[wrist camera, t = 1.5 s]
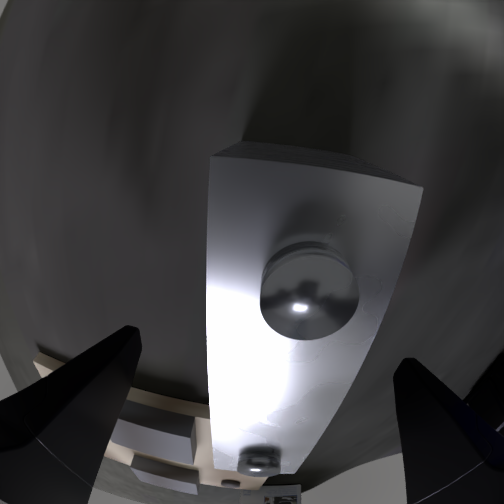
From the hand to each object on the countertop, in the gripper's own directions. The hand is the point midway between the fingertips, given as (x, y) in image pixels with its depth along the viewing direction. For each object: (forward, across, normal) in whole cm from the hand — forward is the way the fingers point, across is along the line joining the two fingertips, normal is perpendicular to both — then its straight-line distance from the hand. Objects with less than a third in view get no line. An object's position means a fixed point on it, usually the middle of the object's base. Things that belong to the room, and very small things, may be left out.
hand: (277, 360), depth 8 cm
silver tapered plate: (+3, 0, 0) cm, 3 cm away
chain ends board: (+3, +6, +16) cm, 17 cm away
